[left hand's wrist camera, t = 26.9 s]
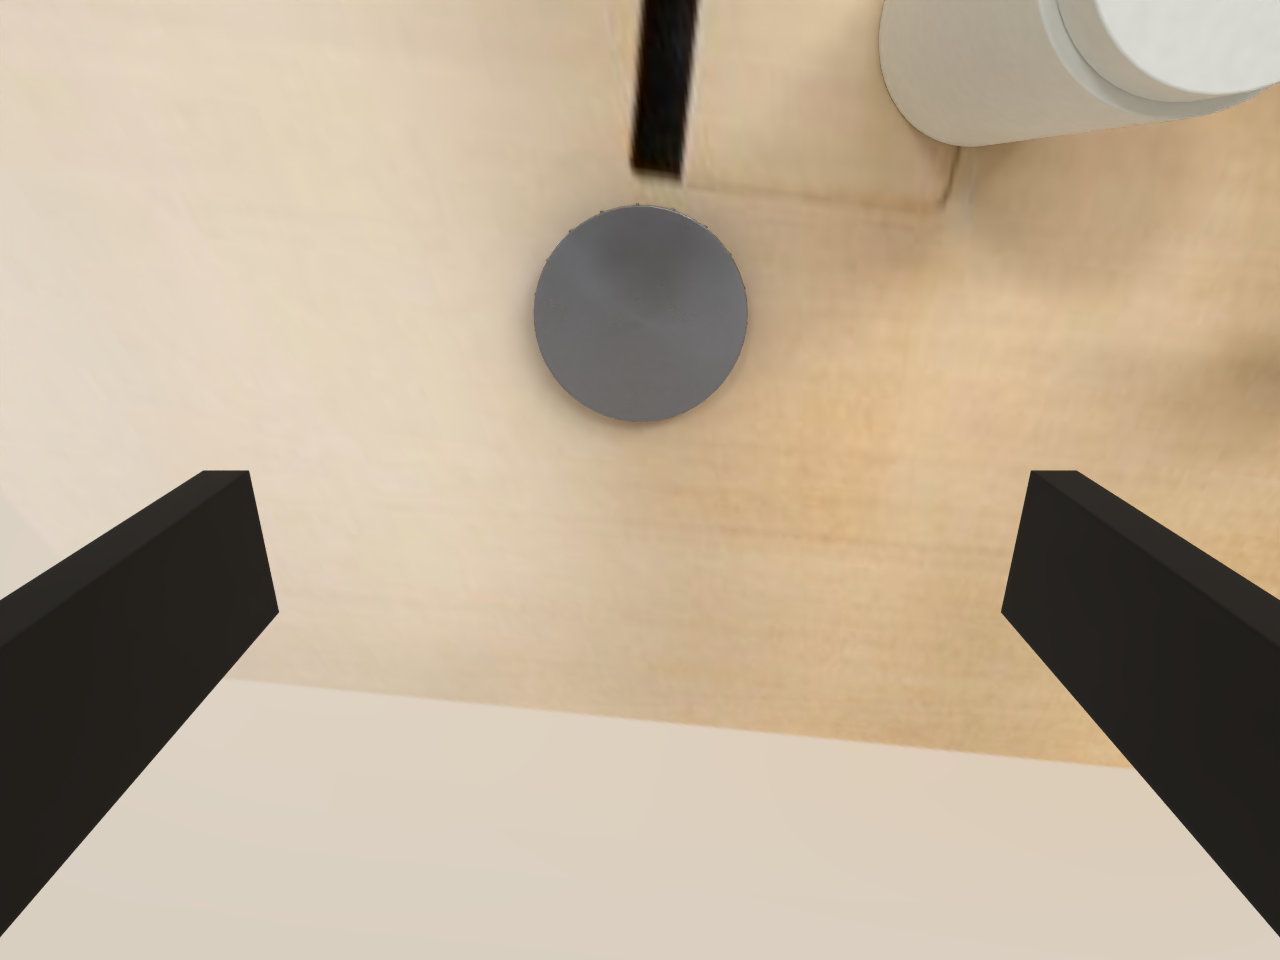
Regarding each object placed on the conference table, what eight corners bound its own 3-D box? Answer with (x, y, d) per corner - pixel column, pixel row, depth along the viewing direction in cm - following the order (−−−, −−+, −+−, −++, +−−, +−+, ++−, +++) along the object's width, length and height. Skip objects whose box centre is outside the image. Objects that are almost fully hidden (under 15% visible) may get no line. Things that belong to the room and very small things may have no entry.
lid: (594, 443, 40) (592, 455, 38) (499, 262, 36) (492, 266, 34) (773, 362, 38) (779, 370, 36) (692, 164, 35) (694, 162, 33)
